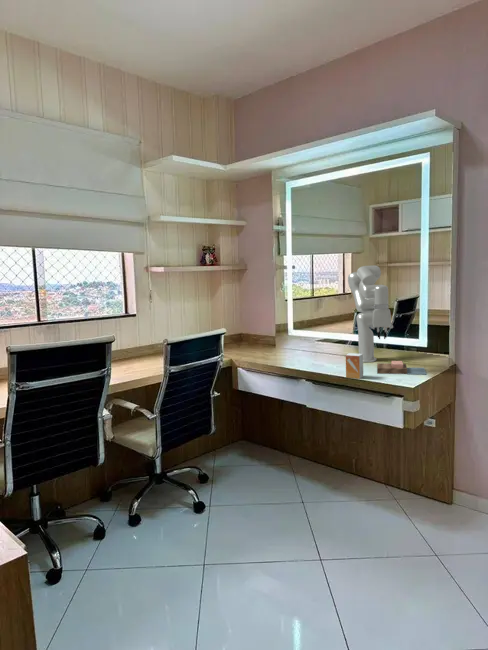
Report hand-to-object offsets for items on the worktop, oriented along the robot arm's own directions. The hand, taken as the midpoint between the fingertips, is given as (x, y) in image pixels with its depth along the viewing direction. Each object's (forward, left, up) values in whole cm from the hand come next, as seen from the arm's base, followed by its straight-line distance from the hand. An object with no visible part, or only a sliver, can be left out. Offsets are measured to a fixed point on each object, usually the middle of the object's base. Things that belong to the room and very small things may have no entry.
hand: (382, 338), depth 251 cm
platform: (+5, 0, -19) cm, 20 cm away
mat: (+18, 0, -19) cm, 26 cm away
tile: (+8, 0, -15) cm, 17 cm away
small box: (-15, -16, -19) cm, 29 cm away
